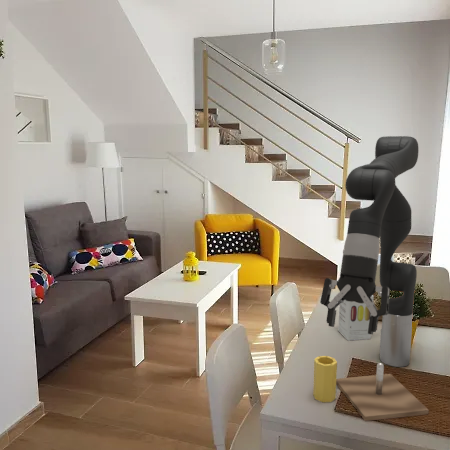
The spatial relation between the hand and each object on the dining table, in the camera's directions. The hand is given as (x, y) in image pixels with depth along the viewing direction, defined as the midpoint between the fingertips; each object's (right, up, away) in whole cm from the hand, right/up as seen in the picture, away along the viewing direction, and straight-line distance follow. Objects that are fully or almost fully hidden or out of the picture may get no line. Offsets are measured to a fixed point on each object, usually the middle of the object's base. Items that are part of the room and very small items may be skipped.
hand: (350, 330), depth 102 cm
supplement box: (+21, -19, +74) cm, 80 cm away
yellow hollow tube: (+1, -26, +32) cm, 41 cm away
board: (+16, -26, +32) cm, 44 cm away
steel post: (+16, -26, +32) cm, 44 cm away
